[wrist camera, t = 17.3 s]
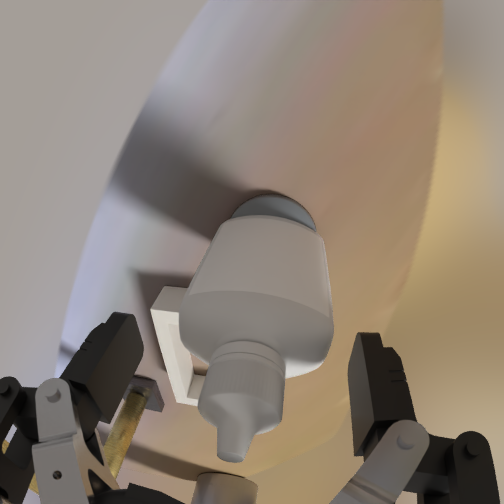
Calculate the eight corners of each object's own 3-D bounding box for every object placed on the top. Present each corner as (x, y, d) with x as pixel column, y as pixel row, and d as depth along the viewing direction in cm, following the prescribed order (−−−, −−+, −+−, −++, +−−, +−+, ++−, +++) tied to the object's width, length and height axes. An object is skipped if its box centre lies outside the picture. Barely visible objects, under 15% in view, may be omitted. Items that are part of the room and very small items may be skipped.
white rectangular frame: (278, 390, 24) (275, 415, 22) (184, 379, 25) (176, 402, 23) (286, 295, 20) (284, 322, 17) (164, 285, 21) (150, 309, 18)
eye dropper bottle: (251, 182, 16) (164, 373, 5) (336, 244, 17) (368, 460, 6) (207, 242, 18) (110, 432, 7) (286, 295, 19) (266, 495, 8)
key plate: (164, 404, 28) (161, 412, 27) (129, 396, 29) (126, 403, 28) (155, 380, 26) (152, 389, 25) (118, 372, 27) (114, 380, 26)
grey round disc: (312, 277, 19) (313, 282, 18) (229, 271, 19) (227, 277, 19) (320, 196, 16) (321, 200, 16) (225, 192, 17) (223, 196, 16)
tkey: (21, 282, 21) (-77, 394, 10) (32, 272, 21) (-76, 393, 9) (149, 416, 28) (106, 531, 16) (166, 414, 27) (123, 537, 15)
